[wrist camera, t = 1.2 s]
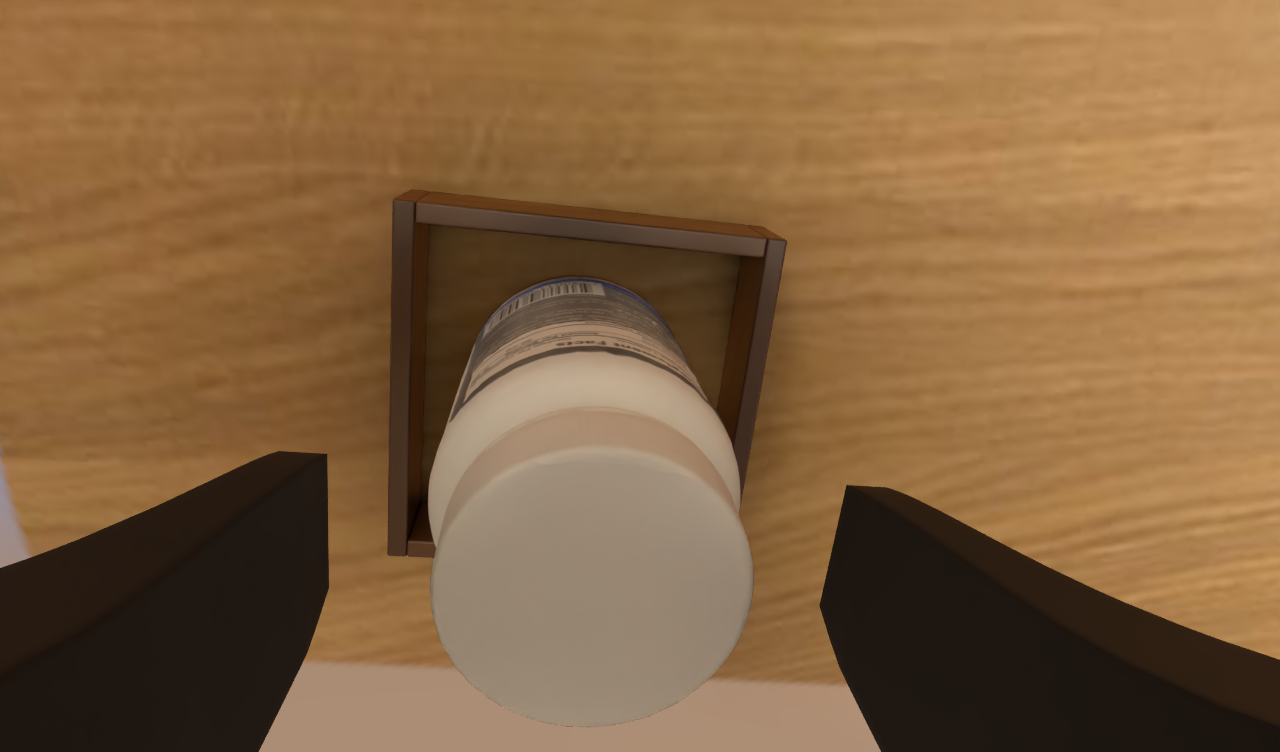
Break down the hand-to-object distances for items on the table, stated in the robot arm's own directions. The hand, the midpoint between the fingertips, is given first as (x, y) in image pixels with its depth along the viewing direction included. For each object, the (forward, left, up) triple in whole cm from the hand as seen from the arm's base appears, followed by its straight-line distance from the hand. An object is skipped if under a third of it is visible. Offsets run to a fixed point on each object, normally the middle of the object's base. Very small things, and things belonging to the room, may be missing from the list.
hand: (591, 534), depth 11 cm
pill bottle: (0, 0, -7) cm, 7 cm away
